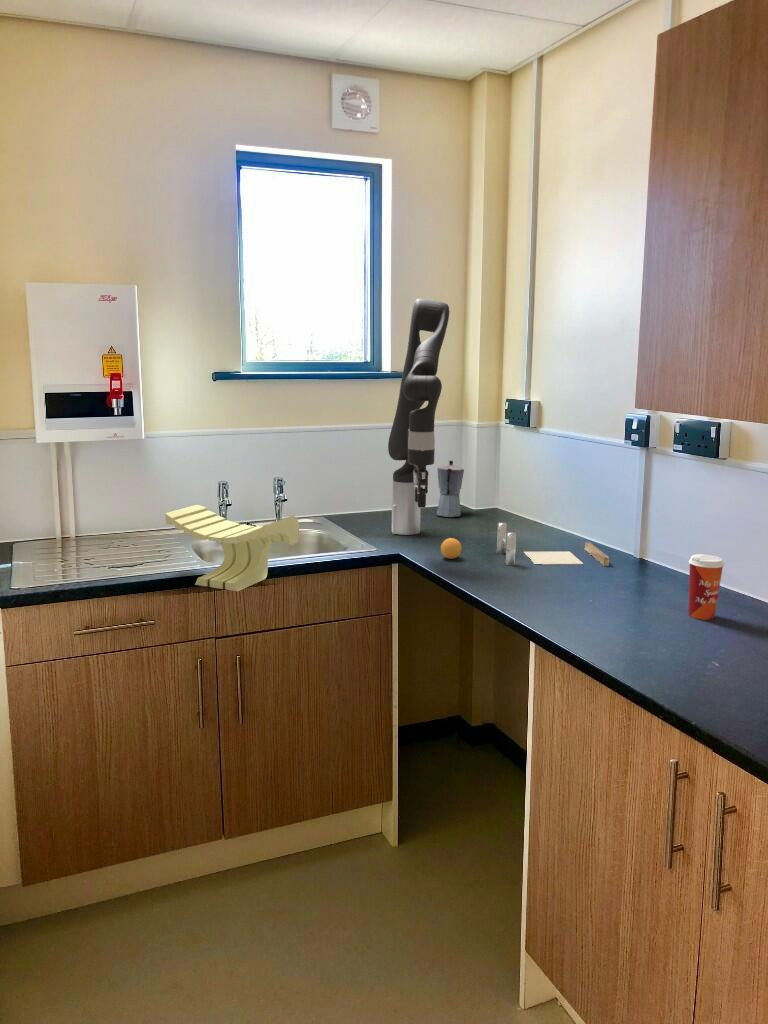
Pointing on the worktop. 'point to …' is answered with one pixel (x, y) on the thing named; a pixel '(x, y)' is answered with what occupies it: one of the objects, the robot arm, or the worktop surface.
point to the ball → (451, 548)
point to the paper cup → (704, 585)
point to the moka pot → (449, 490)
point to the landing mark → (553, 558)
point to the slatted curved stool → (234, 544)
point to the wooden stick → (597, 554)
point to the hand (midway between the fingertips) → (420, 504)
